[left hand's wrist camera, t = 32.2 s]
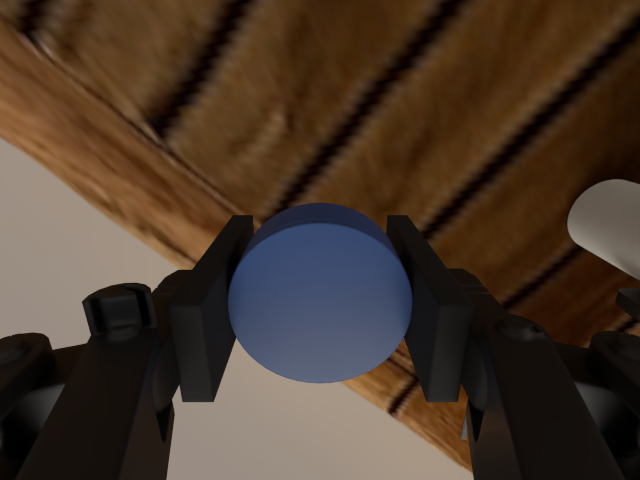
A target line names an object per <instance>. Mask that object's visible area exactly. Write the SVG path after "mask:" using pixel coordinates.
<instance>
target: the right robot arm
mask: <svg viewBox="0 0 640 480" xmlns="http://www.w3.org/2000/svg"><path fill="white" fill-rule="evenodd" d="M615 302H616V304H617V305H619V306H620V307H622V308H623V309H624V310H625V312H626V313H628V314H629V315H630V316H632V317H633V318H635V319H636V320H637V321H639V322H640V288H639V289H620V290H619V292H618V295H617V298H616V301H615Z"/></svg>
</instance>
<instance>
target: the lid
mask: <svg viewBox="0 0 640 480" xmlns="http://www.w3.org/2000/svg"><path fill="white" fill-rule="evenodd" d="M227 300H228V310H229V319H230V323H231V326H232V329H233V332H234V334H235V336H236V338H237V340H238V341H239V342H240V344H241V345H242V347H243V348H244V349H245V350H246V352H247V353H248V354H249V355H250V356H251V357H252V358H253V359H255V360H256V361H257V362H258V363H259V364H261V365H262V366H264V367H265V368H267V369H268V370H270V371H272V372H274V373H276V374H278V375H281V376H283V377H286V378H289V379H292V380H296V381H301V382H308V383H332V382H339V381H344V380H348V379H352V378H354V377H357V376H360V375H362V374H364V373H366V372H368V371H370V370H372V369H374V368H375V367H377V366H378V365H380V364H381V363H382V362H383V361H385V360H386V359H387V358H388V357H389V356H390V355H391V354H392V353H393V352H394V351H395V350H396V348H397V347H398V346H399V344H400V343H401V341H402V340H403V338H404V336H405V334H406V332H407V330H408V327H409V324H410V321H411V313H412V303H413V296H412V289H411V285H410V281H409V278H408V276H407V274H406V271H405V269H404V267H403V265H402V263H401V261H400V259H399V257H398V255H397V253H396V251H395V249H394V247H393V245H392V243H391V241H390V240H389V238H388V237H387V235H386V234H385V233H384V231H383V230H382V229H381V228H380V227H379V226H378V225H377V224H376V223H375V222H373V221H372V220H371V219H369V218H368V217H367V216H365V215H364V214H362V213H360V212H358V211H356V210H354V209H351V208H348V207H345V206H341V205H336V204H329V203H310V204H304V205H299V206H296V207H292V208H289V209H287V210H285V211H283V212H280V213H278V214H277V215H275V216H274V217H272V218H271V219H269V220H268V221H267V222H266V223H264V224H263V225H262V226H261V227H260V228H259V229H258V231H257V232H256V233H255V234H254V236H253V237H252V239H251V240H250V242H249V243H248V245H247V247H246V249H245V251H244V253H243V255H242V257H241V259H240V261H239V264H238V266H237V268H236V270H235V272H234V274H233V276H232V279H231V282H230V285H229V290H228V297H227Z"/></svg>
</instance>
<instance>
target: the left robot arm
mask: <svg viewBox="0 0 640 480" xmlns="http://www.w3.org/2000/svg"><path fill="white" fill-rule="evenodd" d="M386 235H387V237H388V238H389V240H390V241H391V243H392V245H393V247H394V249H395V251H396V253H397V255H398V257H399V259H400V261H401V263H402V265H403V267H404V269H405V271H406V274H407V276H408V278H409V281H410V285H411V289H412V296H413V303H412V313H411V321H410V324H409V327H408V330H407V332H406V334H405V336H404V339H405V342H406V345H407V348H408V350H409V353H410V356H411V359H412V362H413V365H414V367H415V370H416V373H417V376H418V379H419V382H420V384H421V387H422V390H423V393H424V396H425V399H426V402H458V397H459V392H460V386H461V384H462V386H463V388H464V390H465V392H466V394H467V396H468V402H467V407H466V413H465V418H464V423H463V428H462V434H461V439H464V440H466V436H467V432H468V438H469V446H470V453H471V461H472V469H473V477H474V480H640V337H639V336H636V335H633V334H631V335H629V333H624V332H614V331H603V332H597V333H596V334H595V335H593V336H592V339H591V342H590V345H589V348H584V347H578V346H573V345H568V344H562V343H557V342H553V341H552V340H551V338H550V336H549V334H548V333H547V332H546V331H545V330H544V328H543V327H541V326H540V325H538V324H536V323H535V322H533V321H531V320H528V319H526V318H524V317H521V316H516V315H512V314H508V313H507V312H506V311H505V309H504V308H503V307H502V306H501V305H500V304H499V303H498V301H497V300H496V299H495V298H494V297H493V296H492V295H491V294H489V291H488V290H487V289H486V288H485V287H483V284H482V283H481V282H480V281H479V280H478V279H477V278H476V276H474V275H472V274H471V273H469V272H467V271H465V270H464V269H447V268H446V266H445V265H444V264H443V262H442V261H441V260H440V258H439V257H438V256H437V254H436V253H435V252H434V250H433V249H432V248H431V246H430V245H429V244H428V242H427V241H426V240H425V238H424V237H423V236H422V235H421V233H420V232H419V231H418V229H417V228H416V227H415V225H414V224H413V223H412V221H411V220H410V219H409V217H408V216H407V215H388V216H387V230H386ZM253 236H254V226H253V215H233V216H232V218H231V219H230V220H229V222H228V223H227V224H226V226H225V227H224V228H223V230H222V231H221V232H220V233H219V235H218V236H217V237H216V239H215V240H214V241H213V243H212V244H211V245H210V247H209V248H208V249H207V251H206V252H205V253H204V255H203V256H202V257H201V259H200V260H199V261H198V263H197V264H196V265H195V267H194V268H193V269H192V270H177V271H176V272H174V273H172V274H170V275H168V276H167V277H165V278H164V279H163V281H162V282H161V283H160V284H159V285H158V287H157V288H156V289H155V290H154V291H153V292H152V293H151V289H150V288H149V287H148V286H147V285H145V284H140V283H122V284H117V285H112V286H109V287H106V288H103V289H100V290H98V291H96V292H94V293H92V294H90V295H89V296H88V297H86V298H85V299H84V300H83V301H82V304H83V307H84V311H85V315H86V318H87V322H88V325H89V329H90V333H91V336H90V338H89V340H88V342H87V343H86V344H81V345H76V346H71V347H65V348H60V349H55V350H52V347H51V344H50V341H49V338H48V337H47V336H45V335H44V334H41V333H24V334H15V335H12V336H8V337H4V338H2V339H0V480H166V478H167V470H168V462H169V454H170V447H171V439H172V431H173V423H174V416H175V414H174V408H173V403H172V398H173V396H174V394H175V392H176V390H177V388H178V386H179V385H180V390H181V396H182V401H183V402H214V399H215V396H216V394H217V391H218V388H219V385H220V382H221V379H222V377H223V374H224V371H225V368H226V365H227V362H228V360H229V357H230V354H231V351H232V348H233V345H234V342H235V340H236V336H235V334H234V332H233V329H232V326H231V323H230V319H229V310H228V300H227V297H228V290H229V285H230V282H231V279H232V276H233V274H234V272H235V270H236V268H237V266H238V264H239V261H240V259H241V257H242V255H243V253H244V251H245V249H246V247H247V245H248V243H249V242H250V240H251V239H252V237H253Z"/></svg>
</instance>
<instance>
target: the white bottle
mask: <svg viewBox="0 0 640 480" xmlns="http://www.w3.org/2000/svg"><path fill="white" fill-rule="evenodd" d="M567 225H568V231H569V234H570V236H571V238H572V239H573V240H574V241H575V242H576V243H577V244H578V245H580V246H582V247H583V248H585V249H587V250H589V251H590V252H592V253H594V254H595V255H597V256H599V257H601V258H602V259H604V260H606V261H607V262H609V263H611V264H612V265H614V266H616V267H618V268H619V269H621V270H623V271H624V272H626V273H628V274H629V275H631V276H633V277H635V278H636V279H638V280H640V184H637V183H633V182H630V181H626V180H620V179H612V180H607V181H603V182H600V183H598V184H596V185H594V186H592V187H590V188H589V189H587V190H586V191H585V192H584V193H582V194H581V195H580V196H579V197H578V199H577V200H576V201H575V203H574V204H573V206H572V208H571V210H570V212H569V216H568V222H567Z"/></svg>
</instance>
